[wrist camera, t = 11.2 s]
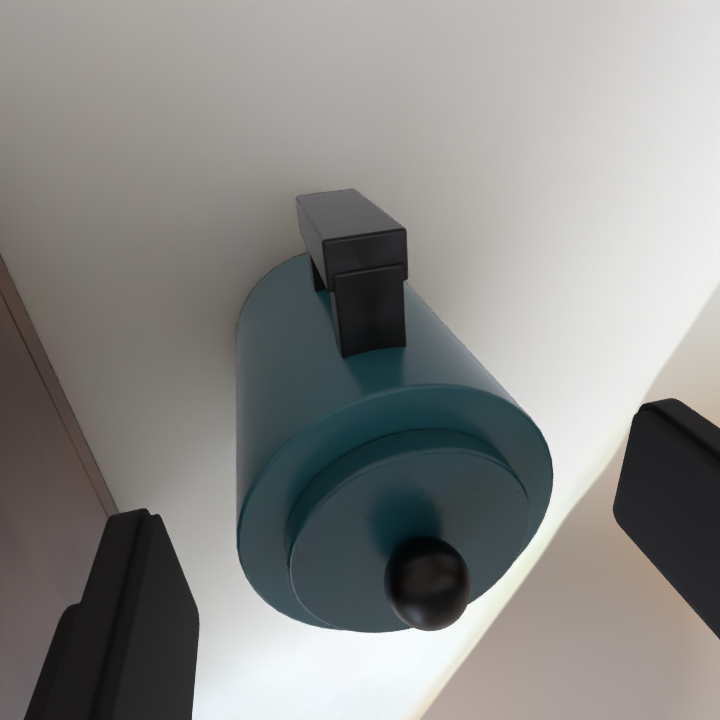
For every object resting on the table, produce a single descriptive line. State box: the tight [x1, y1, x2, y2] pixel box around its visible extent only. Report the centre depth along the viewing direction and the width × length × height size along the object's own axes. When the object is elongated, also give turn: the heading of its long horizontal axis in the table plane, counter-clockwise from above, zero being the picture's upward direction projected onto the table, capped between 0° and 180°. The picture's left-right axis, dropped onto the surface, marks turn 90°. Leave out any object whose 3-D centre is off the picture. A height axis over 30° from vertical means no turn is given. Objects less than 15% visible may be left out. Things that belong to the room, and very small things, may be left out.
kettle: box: [236, 189, 553, 633], centre depth 12 cm, size 11×6×10 cm, turn 6°
